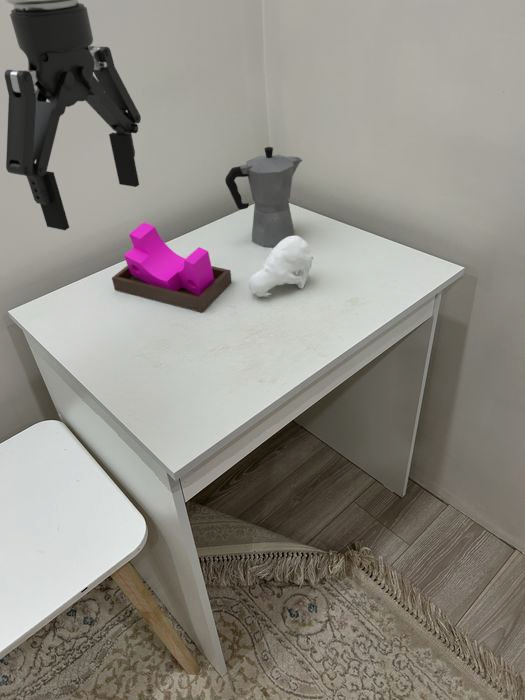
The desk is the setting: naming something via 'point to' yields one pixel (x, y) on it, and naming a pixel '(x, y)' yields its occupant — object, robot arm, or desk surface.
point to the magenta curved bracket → (167, 263)
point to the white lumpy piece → (283, 266)
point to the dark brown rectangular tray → (178, 298)
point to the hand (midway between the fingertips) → (96, 204)
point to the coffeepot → (267, 195)
